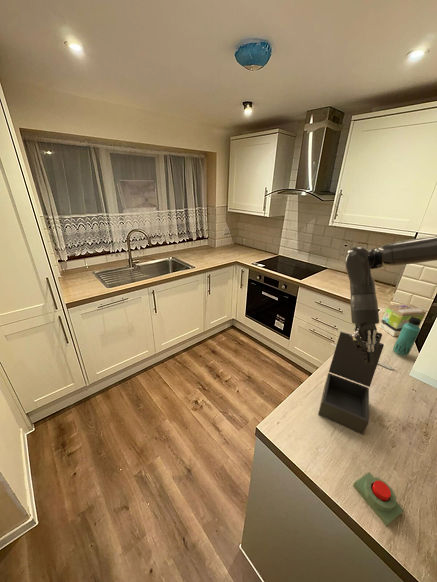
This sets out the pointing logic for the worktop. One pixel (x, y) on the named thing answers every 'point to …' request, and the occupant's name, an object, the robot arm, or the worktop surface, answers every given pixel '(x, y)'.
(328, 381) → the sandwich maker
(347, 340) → the sandwich lid
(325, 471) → the worktop surface
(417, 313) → the tea box
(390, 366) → the butter knife
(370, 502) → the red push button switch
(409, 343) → the beverage bottle
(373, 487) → the button
